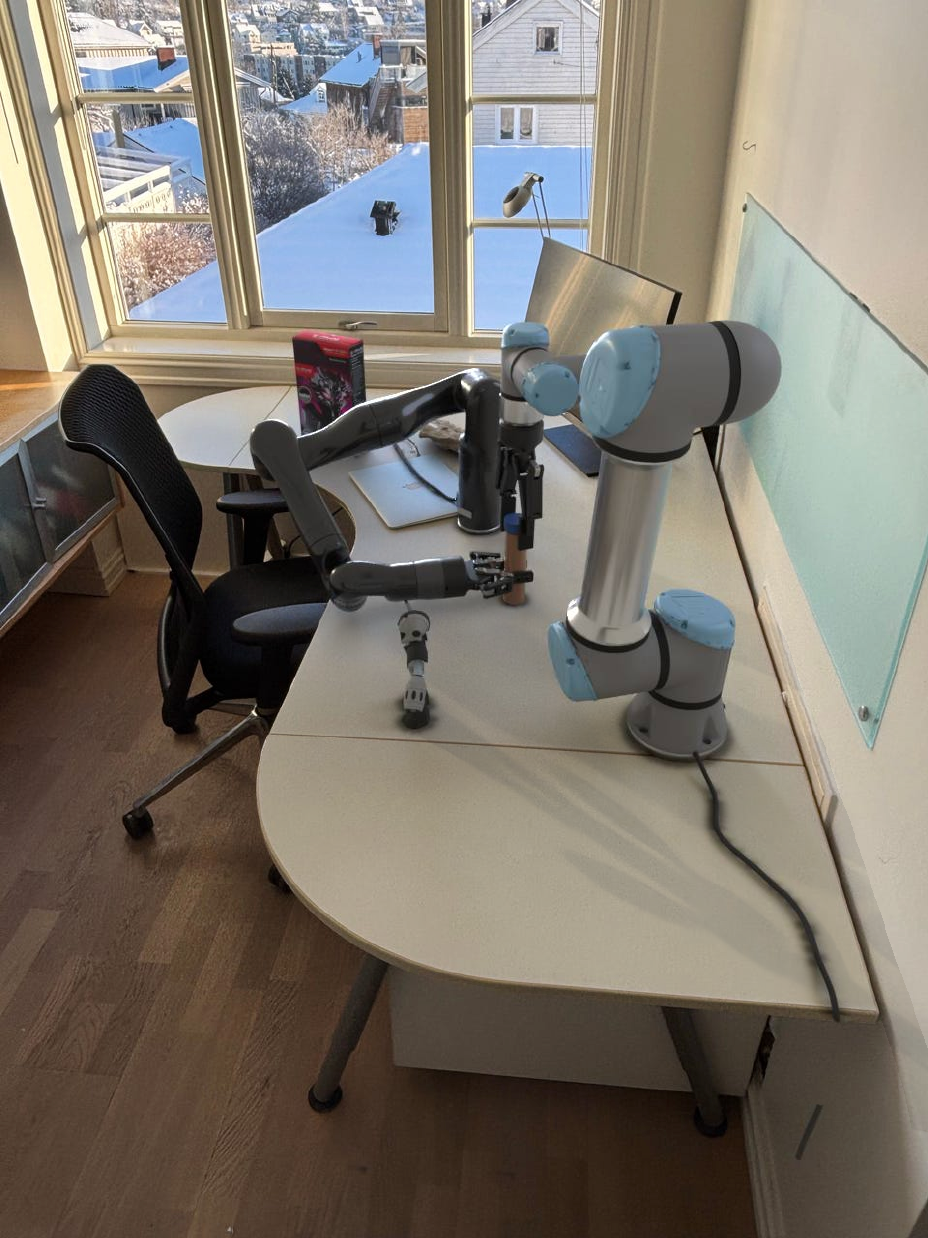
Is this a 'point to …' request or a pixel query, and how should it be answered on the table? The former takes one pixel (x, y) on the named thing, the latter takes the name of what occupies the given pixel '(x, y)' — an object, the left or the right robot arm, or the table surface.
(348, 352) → the graphics card box
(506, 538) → the jar
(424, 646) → the robot
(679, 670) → the right robot arm
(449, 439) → the stone
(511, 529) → the lid
